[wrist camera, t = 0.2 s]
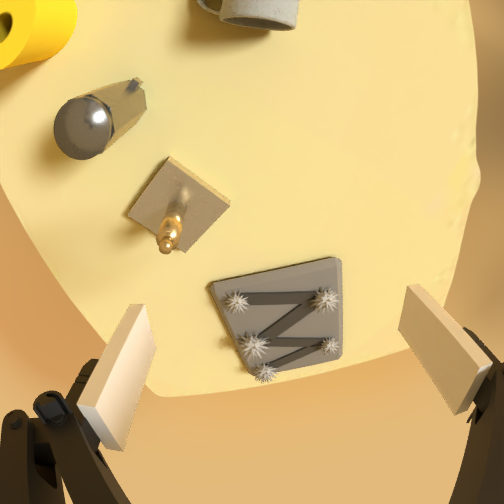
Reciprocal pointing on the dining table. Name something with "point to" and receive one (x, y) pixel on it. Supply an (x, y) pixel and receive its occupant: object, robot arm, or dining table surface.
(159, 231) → the square metal stand
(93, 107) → the trash can
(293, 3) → the ceramic mug
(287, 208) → the dining table surface
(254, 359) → the decorative plate
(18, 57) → the tape roll
